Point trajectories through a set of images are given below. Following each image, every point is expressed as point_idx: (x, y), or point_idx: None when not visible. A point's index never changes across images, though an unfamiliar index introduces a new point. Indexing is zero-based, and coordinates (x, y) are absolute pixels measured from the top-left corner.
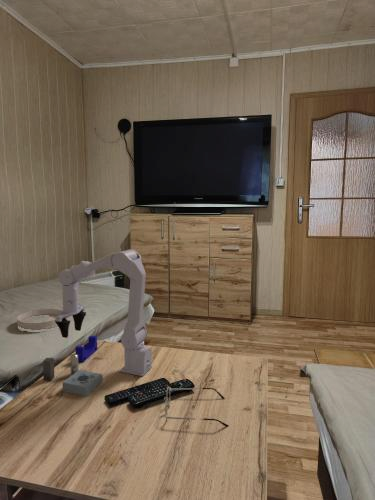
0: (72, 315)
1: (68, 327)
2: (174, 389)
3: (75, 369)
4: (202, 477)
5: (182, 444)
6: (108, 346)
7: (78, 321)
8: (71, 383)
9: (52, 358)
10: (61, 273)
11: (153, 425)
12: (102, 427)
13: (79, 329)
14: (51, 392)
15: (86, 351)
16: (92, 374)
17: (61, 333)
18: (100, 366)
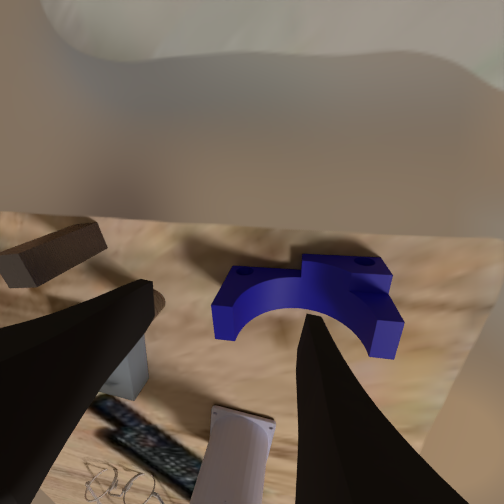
0: (341, 460)
1: (86, 403)
2: (159, 499)
3: None
4: (50, 484)
5: (76, 477)
6: (412, 338)
7: (305, 428)
8: None
9: (32, 283)
10: None
11: (86, 456)
12: None
13: (297, 357)
14: (49, 282)
15: (307, 289)
16: (120, 381)
17: (112, 293)
18: (226, 354)
